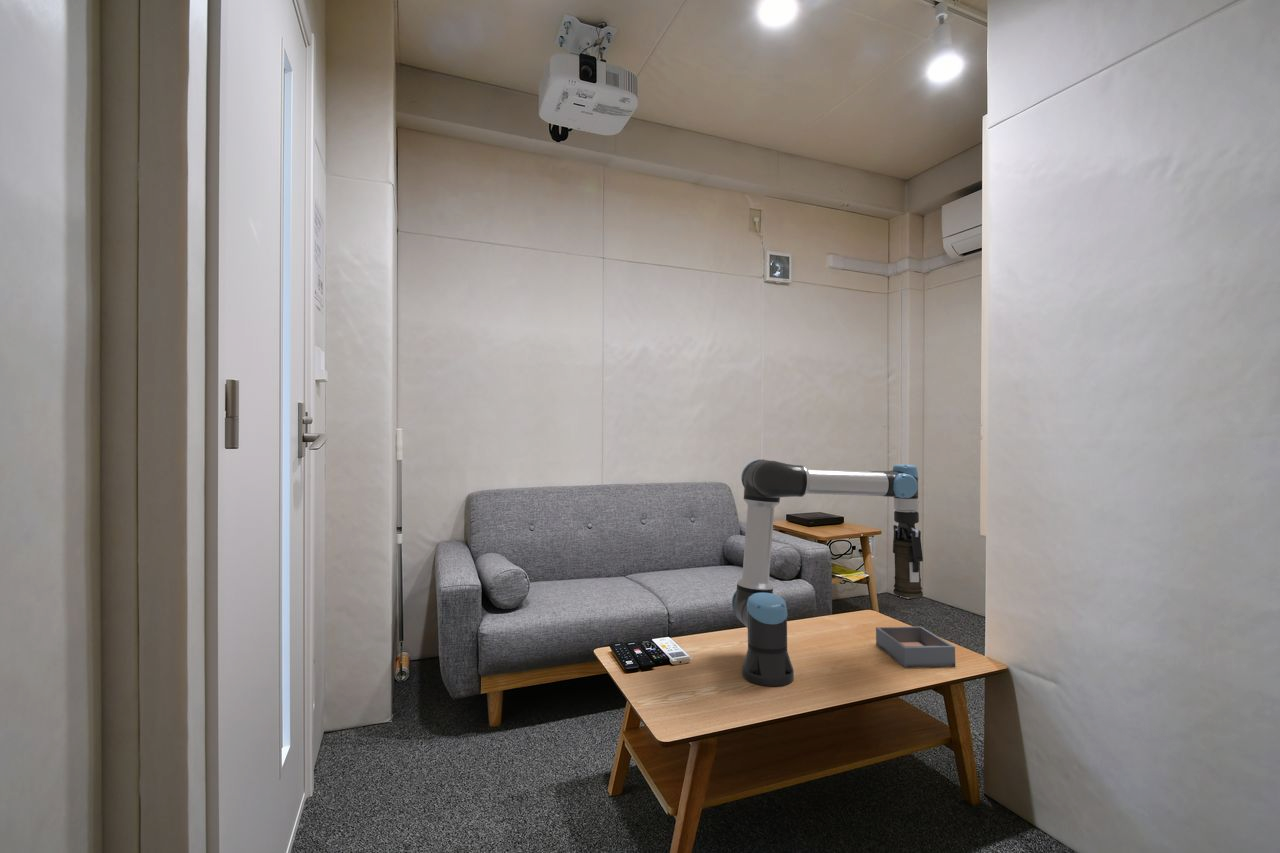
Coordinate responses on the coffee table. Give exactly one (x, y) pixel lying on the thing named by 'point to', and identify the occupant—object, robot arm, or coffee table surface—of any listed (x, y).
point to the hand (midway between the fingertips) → (907, 578)
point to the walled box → (915, 647)
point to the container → (904, 572)
